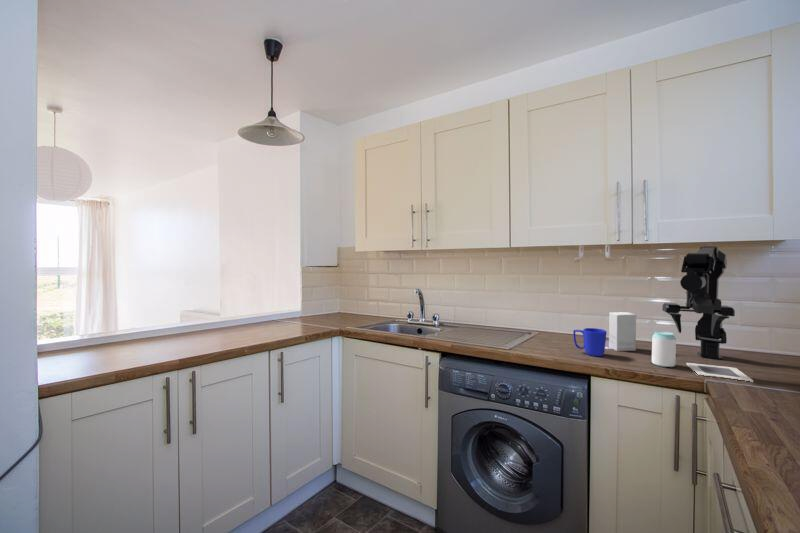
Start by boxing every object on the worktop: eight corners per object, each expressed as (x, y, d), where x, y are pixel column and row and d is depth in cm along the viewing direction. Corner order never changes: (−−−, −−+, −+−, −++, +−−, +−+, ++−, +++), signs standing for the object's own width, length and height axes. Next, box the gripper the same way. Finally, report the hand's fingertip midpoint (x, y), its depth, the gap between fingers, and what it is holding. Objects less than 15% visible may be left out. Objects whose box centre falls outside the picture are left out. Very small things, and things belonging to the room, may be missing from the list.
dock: (686, 364, 134) (686, 362, 134) (735, 369, 128) (735, 367, 128) (698, 375, 122) (698, 373, 122) (753, 382, 116) (753, 380, 116)
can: (675, 369, 128) (676, 335, 128) (651, 365, 133) (651, 333, 132) (675, 364, 134) (676, 332, 133) (652, 361, 138) (652, 329, 138)
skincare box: (627, 347, 158) (628, 311, 158) (636, 351, 152) (637, 314, 151) (607, 347, 158) (608, 311, 158) (616, 351, 152) (617, 314, 151)
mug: (574, 349, 155) (575, 326, 154) (607, 353, 148) (607, 329, 148) (571, 353, 148) (571, 329, 148) (604, 358, 141) (605, 333, 141)
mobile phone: (605, 347, 156) (595, 339, 170) (605, 349, 156) (595, 341, 170) (625, 348, 154) (613, 340, 169) (625, 350, 154) (613, 342, 169)
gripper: (671, 290, 122) (670, 336, 122) (743, 292, 114) (741, 342, 115) (662, 287, 132) (661, 330, 133) (728, 289, 124) (726, 334, 125)
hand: (696, 334), depth 126 cm, fingers open, 9 cm apart
